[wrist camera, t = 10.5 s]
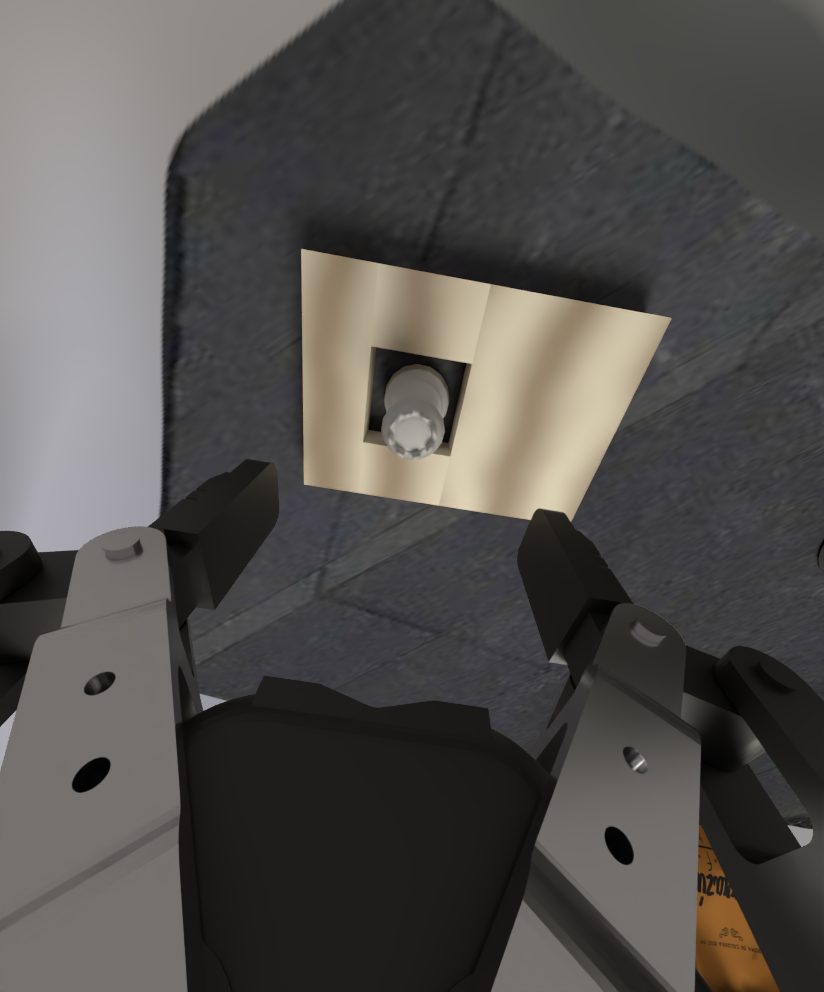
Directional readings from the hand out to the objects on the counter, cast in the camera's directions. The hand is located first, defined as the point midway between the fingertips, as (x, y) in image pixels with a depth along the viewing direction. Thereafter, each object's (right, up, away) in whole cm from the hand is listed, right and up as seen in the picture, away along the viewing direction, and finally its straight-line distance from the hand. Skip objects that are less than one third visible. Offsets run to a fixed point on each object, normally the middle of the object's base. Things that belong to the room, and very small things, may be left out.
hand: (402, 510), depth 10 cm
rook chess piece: (+1, +7, +13) cm, 15 cm away
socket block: (+3, +7, +13) cm, 15 cm away
